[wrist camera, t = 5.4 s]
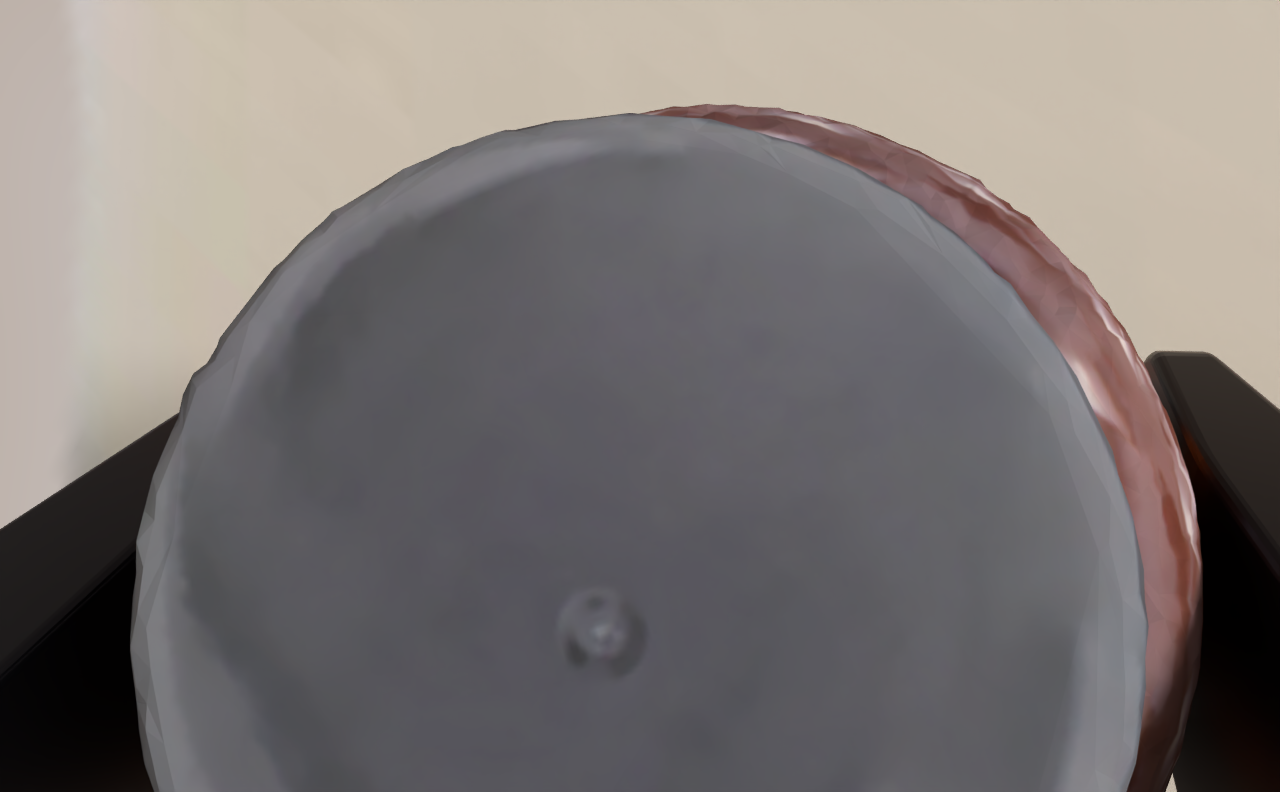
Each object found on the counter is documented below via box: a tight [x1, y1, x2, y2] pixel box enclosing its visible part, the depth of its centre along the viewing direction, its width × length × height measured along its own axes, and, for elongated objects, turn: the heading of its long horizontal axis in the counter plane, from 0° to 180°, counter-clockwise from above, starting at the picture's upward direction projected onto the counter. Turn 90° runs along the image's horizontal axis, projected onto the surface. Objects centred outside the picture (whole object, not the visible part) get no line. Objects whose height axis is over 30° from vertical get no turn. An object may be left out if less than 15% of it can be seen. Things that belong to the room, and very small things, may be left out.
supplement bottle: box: [130, 104, 1203, 792], centre depth 10 cm, size 6×6×11 cm
